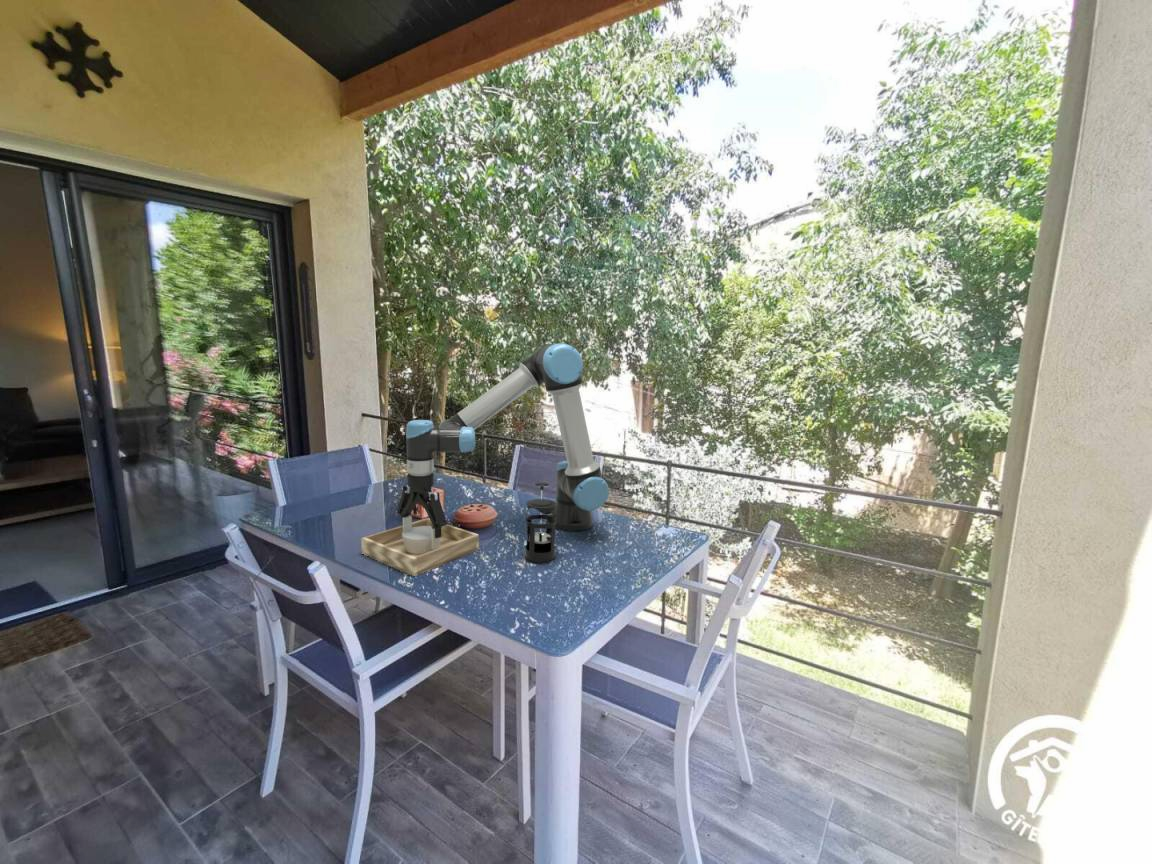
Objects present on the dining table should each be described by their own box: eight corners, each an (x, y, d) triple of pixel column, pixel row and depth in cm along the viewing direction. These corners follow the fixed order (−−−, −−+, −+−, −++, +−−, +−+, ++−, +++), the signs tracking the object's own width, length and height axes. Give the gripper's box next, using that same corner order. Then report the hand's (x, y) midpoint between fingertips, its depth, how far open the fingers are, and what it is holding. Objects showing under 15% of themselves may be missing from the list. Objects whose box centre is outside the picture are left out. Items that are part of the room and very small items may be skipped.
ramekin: (416, 539, 160) (416, 523, 159) (448, 544, 157) (447, 528, 156) (394, 552, 149) (393, 535, 149) (427, 558, 146) (427, 541, 145)
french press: (542, 567, 145) (544, 489, 142) (516, 559, 150) (517, 484, 146) (564, 554, 155) (567, 481, 152) (539, 547, 160) (541, 476, 156)
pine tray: (478, 550, 156) (478, 534, 155) (413, 576, 137) (413, 559, 136) (427, 532, 170) (427, 517, 169) (361, 554, 150) (361, 538, 149)
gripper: (383, 468, 153) (385, 536, 157) (438, 482, 139) (438, 556, 143) (404, 464, 159) (405, 529, 163) (459, 477, 145) (459, 548, 149)
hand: (421, 542), depth 153 cm, fingers open, 12 cm apart
